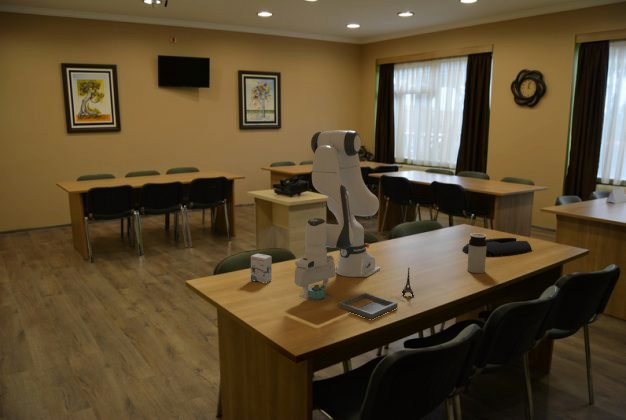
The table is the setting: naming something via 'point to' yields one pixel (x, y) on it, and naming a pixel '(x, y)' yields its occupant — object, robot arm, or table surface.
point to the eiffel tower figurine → (407, 289)
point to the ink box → (261, 268)
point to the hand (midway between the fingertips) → (315, 292)
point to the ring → (317, 293)
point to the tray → (369, 306)
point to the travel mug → (477, 253)
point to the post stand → (316, 288)
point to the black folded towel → (503, 247)
